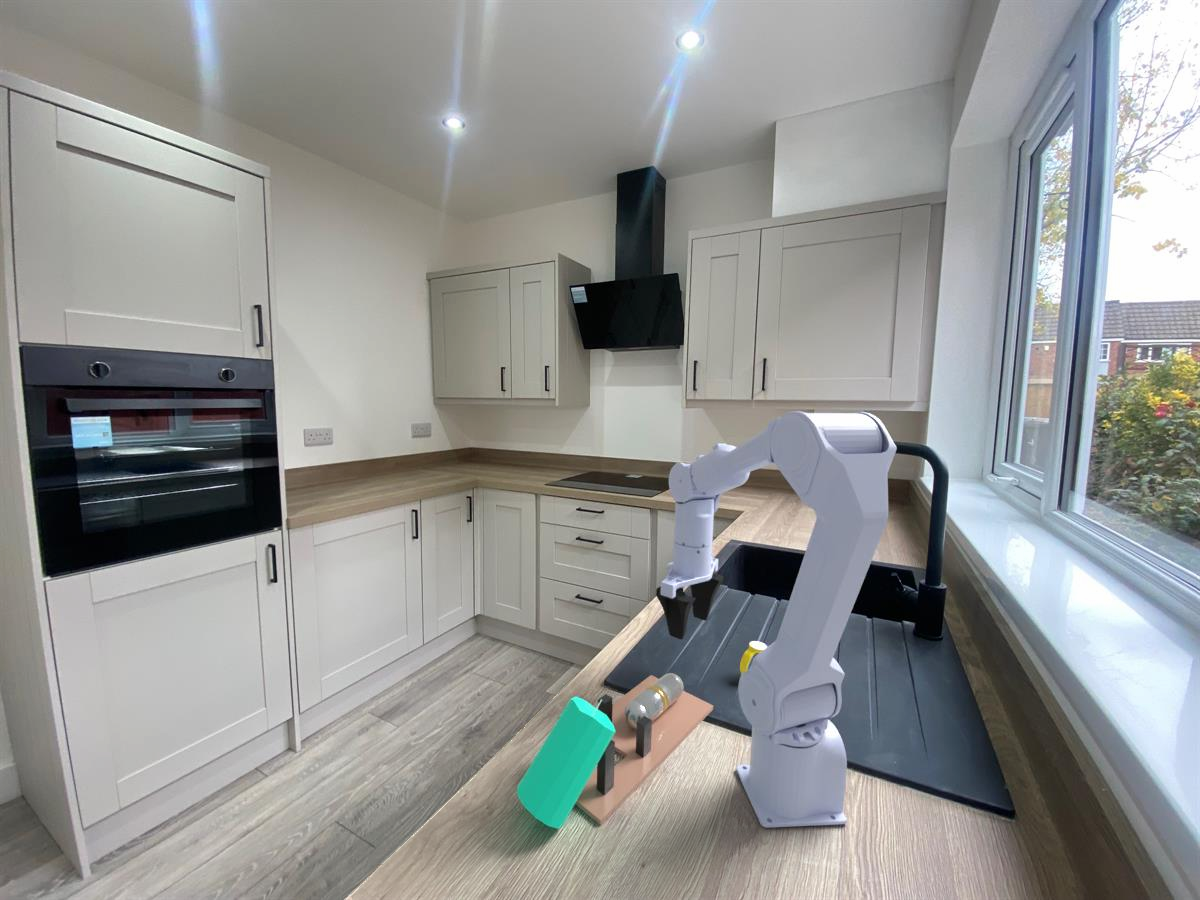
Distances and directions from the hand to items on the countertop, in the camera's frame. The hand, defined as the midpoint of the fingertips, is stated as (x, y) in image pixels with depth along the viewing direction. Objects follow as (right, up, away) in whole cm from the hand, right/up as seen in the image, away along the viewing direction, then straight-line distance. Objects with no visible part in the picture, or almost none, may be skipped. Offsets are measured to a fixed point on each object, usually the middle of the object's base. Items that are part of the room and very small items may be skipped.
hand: (689, 626), depth 72 cm
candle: (-20, -10, -23) cm, 32 cm away
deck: (-10, -11, -10) cm, 17 cm away
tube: (-6, -10, -6) cm, 13 cm away
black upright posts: (-13, -11, -14) cm, 22 cm away
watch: (+12, -10, +4) cm, 16 cm away
